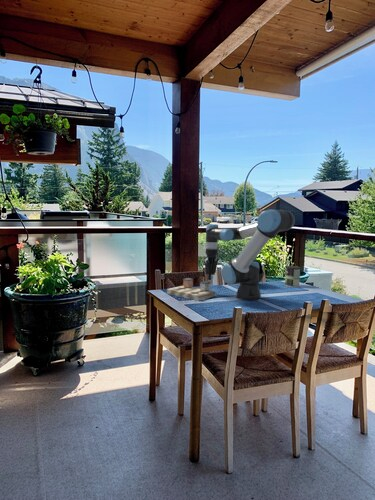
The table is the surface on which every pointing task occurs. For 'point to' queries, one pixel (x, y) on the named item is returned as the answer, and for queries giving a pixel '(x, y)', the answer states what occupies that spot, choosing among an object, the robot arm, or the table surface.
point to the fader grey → (205, 285)
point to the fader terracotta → (188, 282)
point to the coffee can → (292, 276)
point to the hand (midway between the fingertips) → (210, 284)
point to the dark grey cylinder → (260, 271)
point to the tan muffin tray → (191, 293)
